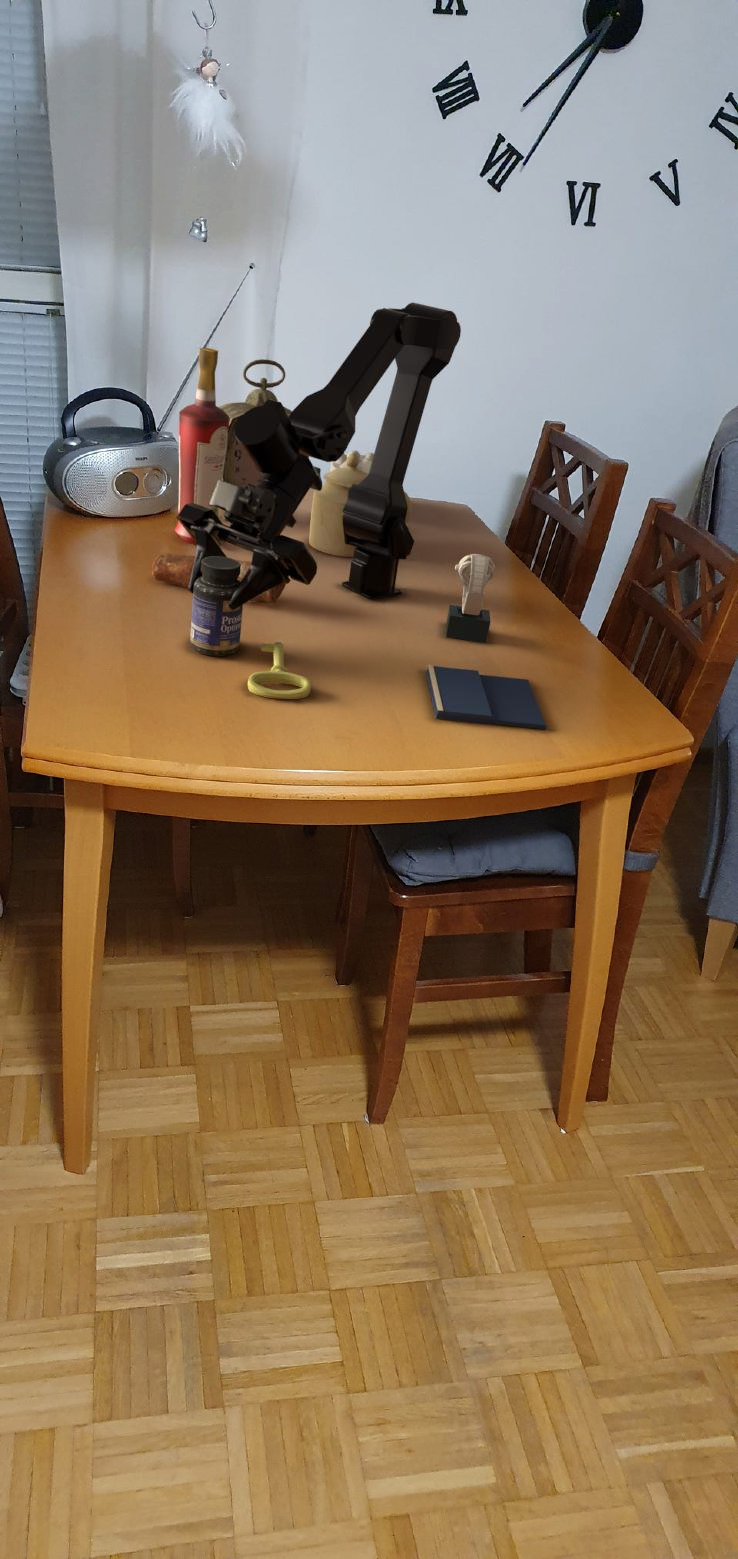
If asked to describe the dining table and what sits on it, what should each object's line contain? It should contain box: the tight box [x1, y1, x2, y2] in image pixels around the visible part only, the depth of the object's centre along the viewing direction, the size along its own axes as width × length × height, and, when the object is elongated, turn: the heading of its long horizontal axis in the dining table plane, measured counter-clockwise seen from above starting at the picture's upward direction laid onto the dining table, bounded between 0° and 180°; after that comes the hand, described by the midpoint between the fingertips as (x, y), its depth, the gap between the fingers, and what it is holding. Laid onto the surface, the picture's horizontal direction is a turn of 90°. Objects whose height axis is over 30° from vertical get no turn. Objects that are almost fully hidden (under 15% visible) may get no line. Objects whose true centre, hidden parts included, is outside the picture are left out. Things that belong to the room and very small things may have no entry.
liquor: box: [174, 347, 230, 545], centre depth 177 cm, size 7×7×28 cm
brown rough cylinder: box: [151, 553, 287, 605], centre depth 163 cm, size 6×19×6 cm, turn 75°
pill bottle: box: [189, 556, 244, 657], centre depth 145 cm, size 6×6×11 cm
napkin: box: [425, 664, 547, 730], centre depth 144 cm, size 13×13×1 cm
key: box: [247, 641, 311, 700], centre depth 141 cm, size 7×12×2 cm, turn 23°
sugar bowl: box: [308, 452, 412, 558], centre depth 186 cm, size 15×11×15 cm
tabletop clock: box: [218, 359, 310, 522], centre depth 192 cm, size 14×9×25 cm, turn 114°
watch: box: [445, 553, 496, 644], centre depth 160 cm, size 6×8×11 cm
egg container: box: [329, 449, 374, 474], centre depth 209 cm, size 10×13×9 cm
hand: (210, 599), depth 144 cm, fingers closed on pill bottle, 6 cm apart
